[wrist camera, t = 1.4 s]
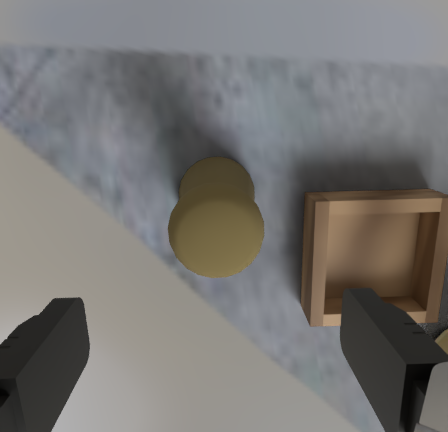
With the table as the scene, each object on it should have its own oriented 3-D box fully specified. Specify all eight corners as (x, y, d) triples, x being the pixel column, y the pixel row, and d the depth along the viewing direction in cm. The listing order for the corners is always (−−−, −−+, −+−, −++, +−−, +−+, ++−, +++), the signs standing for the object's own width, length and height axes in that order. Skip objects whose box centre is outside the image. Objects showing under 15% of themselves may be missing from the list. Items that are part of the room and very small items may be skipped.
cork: (212, 140, 27) (209, 154, 17) (270, 191, 28) (301, 235, 18) (163, 198, 28) (130, 246, 18) (220, 245, 30) (221, 316, 19)
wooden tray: (429, 188, 29) (456, 197, 25) (415, 301, 31) (437, 322, 28) (304, 192, 28) (315, 201, 25) (300, 305, 31) (310, 326, 28)
